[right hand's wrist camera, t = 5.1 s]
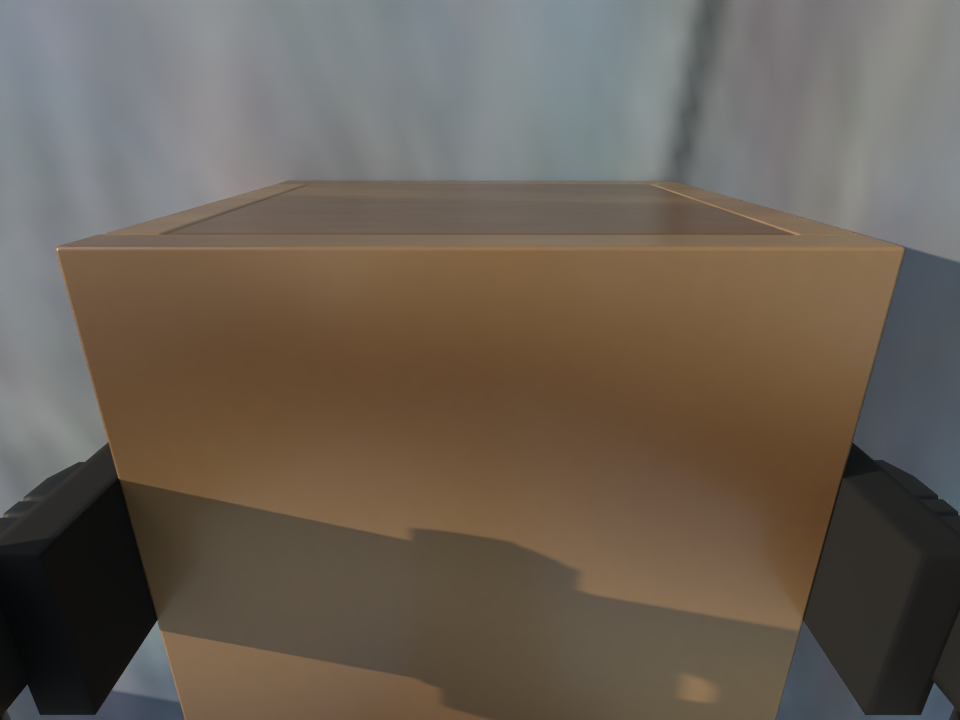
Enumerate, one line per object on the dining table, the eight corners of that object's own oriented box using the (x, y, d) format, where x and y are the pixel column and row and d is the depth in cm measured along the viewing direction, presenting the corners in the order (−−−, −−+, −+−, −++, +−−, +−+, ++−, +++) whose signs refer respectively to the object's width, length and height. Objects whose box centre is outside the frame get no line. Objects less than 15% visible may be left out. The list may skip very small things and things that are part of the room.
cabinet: (611, 703, 23) (688, 1040, 15) (348, 703, 23) (271, 1040, 15) (674, 180, 16) (909, 247, 7) (285, 180, 16) (52, 247, 7)
